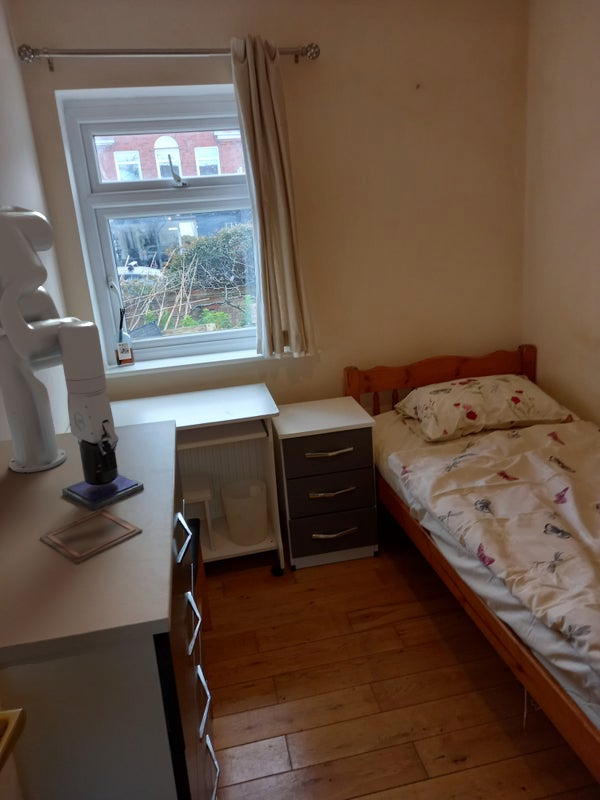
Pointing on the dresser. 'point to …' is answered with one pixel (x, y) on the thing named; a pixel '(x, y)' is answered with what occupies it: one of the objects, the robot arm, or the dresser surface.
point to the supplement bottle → (95, 464)
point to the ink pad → (102, 492)
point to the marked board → (90, 535)
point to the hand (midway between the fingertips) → (99, 465)
